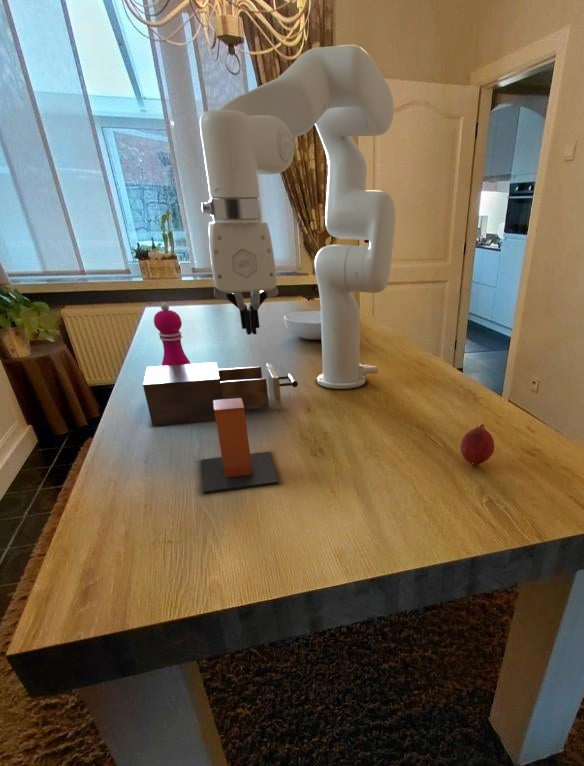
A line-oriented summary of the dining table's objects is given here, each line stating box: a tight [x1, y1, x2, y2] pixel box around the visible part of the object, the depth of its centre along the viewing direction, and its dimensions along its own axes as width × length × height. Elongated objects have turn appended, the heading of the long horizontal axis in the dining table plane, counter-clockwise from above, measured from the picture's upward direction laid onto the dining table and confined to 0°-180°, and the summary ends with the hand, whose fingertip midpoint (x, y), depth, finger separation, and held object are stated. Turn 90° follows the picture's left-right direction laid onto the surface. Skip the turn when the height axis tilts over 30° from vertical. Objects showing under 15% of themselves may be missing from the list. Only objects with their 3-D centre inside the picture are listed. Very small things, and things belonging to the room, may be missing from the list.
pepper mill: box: [153, 302, 192, 366], centre depth 117 cm, size 7×7×20 cm
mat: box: [201, 451, 279, 494], centre depth 86 cm, size 12×12×1 cm
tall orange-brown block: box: [213, 398, 253, 478], centre depth 82 cm, size 5×5×12 cm
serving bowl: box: [283, 310, 322, 341], centre depth 168 cm, size 21×21×7 cm
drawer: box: [218, 362, 299, 410], centre depth 111 cm, size 18×12×7 cm, turn 107°
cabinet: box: [142, 361, 223, 427], centre depth 107 cm, size 15×13×9 cm
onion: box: [460, 422, 495, 467], centre depth 87 cm, size 6×6×8 cm
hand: (251, 332), depth 87 cm, fingers closed
